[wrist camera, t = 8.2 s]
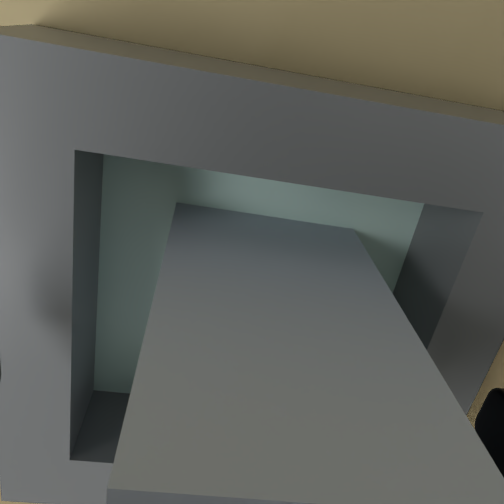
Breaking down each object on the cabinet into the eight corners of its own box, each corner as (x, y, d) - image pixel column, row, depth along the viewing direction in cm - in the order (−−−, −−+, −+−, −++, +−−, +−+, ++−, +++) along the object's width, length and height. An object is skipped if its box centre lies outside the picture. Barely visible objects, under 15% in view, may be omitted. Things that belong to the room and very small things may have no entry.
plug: (353, 229, 11) (583, 610, 4) (312, 367, 13) (422, 802, 6) (176, 202, 10) (82, 588, 3) (158, 350, 12) (72, 807, 5)
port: (515, 113, 10) (600, 142, 8) (381, 445, 15) (411, 527, 12) (31, 24, 9) (-34, 27, 7) (40, 416, 13) (1, 500, 11)
